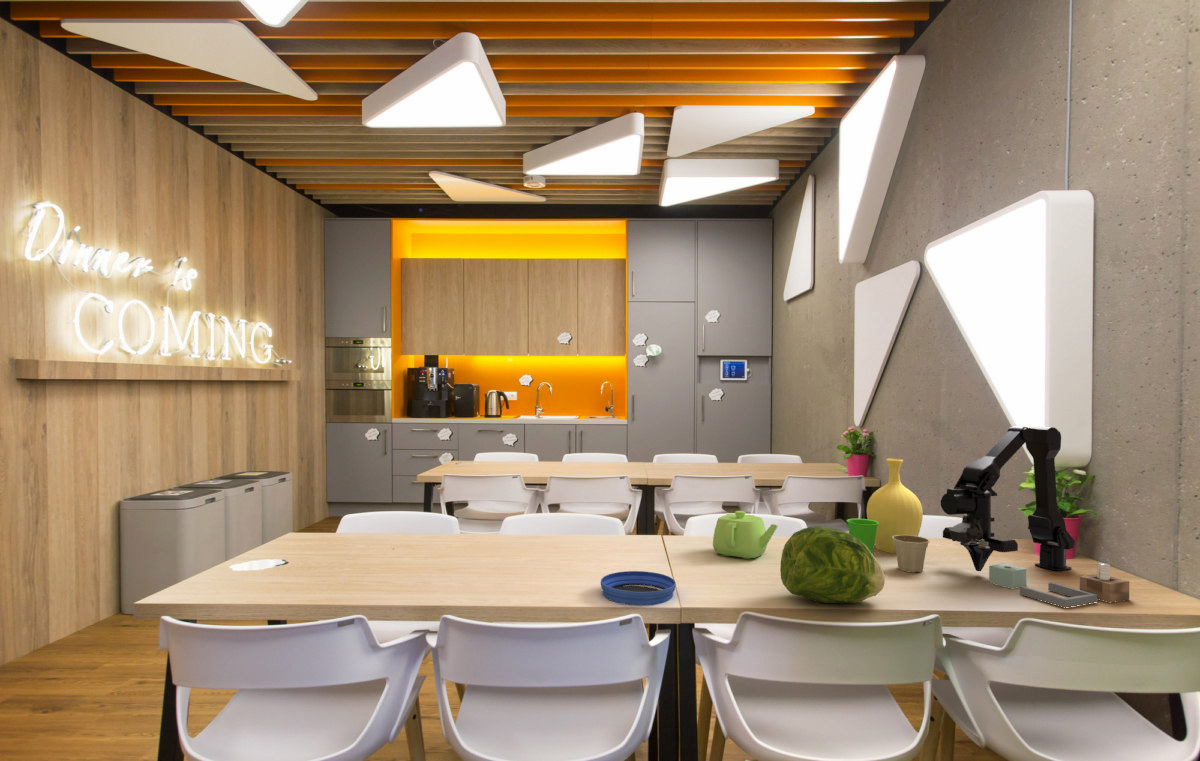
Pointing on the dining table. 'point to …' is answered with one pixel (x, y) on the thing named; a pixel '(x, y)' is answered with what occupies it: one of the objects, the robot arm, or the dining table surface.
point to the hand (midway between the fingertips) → (978, 570)
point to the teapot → (741, 535)
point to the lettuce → (830, 566)
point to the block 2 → (1105, 588)
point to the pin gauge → (1104, 571)
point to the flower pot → (910, 552)
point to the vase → (894, 510)
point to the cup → (864, 531)
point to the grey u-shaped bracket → (1075, 599)
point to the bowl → (637, 587)
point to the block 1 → (1007, 575)
